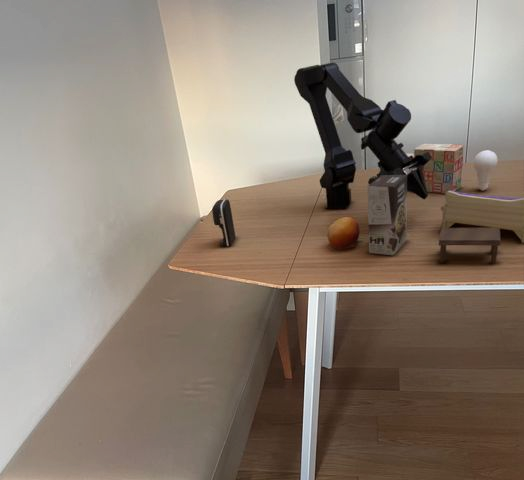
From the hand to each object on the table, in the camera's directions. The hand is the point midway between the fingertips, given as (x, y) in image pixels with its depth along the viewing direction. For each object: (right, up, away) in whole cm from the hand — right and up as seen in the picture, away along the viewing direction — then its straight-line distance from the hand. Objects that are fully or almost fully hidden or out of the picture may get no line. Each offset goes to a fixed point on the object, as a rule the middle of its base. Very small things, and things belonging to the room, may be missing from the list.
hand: (426, 197), depth 129 cm
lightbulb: (+23, +8, +20) cm, 31 cm away
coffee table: (+4, -18, -15) cm, 23 cm away
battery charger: (-51, -9, +13) cm, 53 cm away
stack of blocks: (+8, +11, +29) cm, 32 cm away
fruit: (-20, -12, 0) cm, 24 cm away
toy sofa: (+13, -10, -5) cm, 17 cm away
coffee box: (-11, -13, -4) cm, 18 cm away
